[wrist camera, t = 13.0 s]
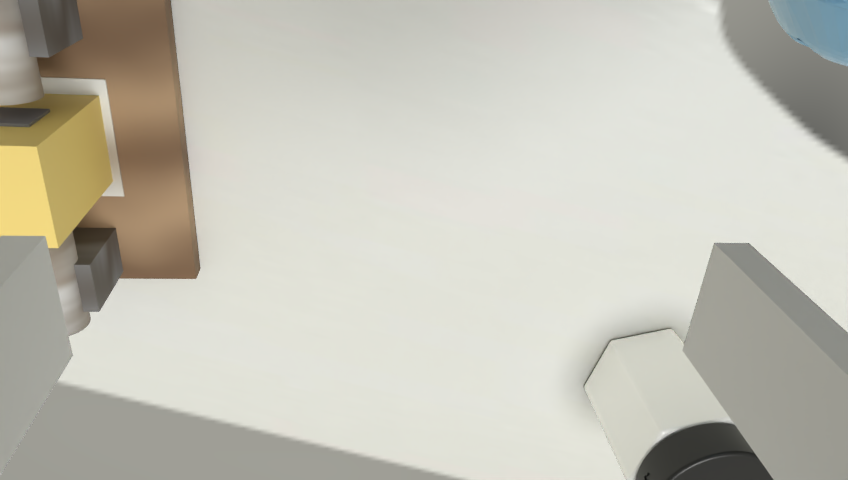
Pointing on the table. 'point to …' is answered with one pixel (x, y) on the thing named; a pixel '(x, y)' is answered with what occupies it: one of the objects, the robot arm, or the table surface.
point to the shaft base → (111, 137)
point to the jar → (665, 415)
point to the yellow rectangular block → (51, 165)
